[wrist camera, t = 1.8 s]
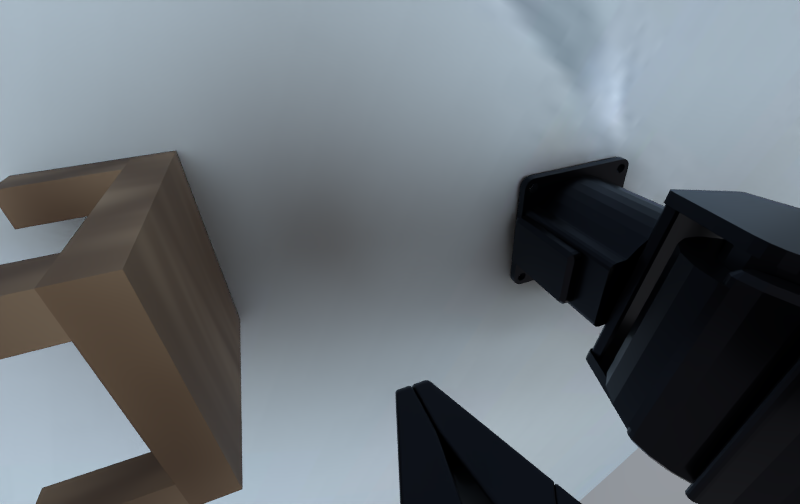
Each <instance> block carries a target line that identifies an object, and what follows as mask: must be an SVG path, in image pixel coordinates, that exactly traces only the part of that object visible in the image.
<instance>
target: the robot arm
mask: <svg viewBox="0 0 800 504" xmlns="http://www.w3.org/2000/svg"><path fill="white" fill-rule="evenodd" d="M628 164H629V163H628V161H627V160H626V159H624V158H621V157H615V158H610V159H606V160H601V161H596V162H592V163H587V164H582V165H578V166H573V167H568V168H564V169H559V170H554V171H550V172H545V173H540V174H536V175H531V176H528V177H526V178H525V179H524V180H523V181H522V183H521V186H520V194H519V203H518V212H517V221H516V227H515V236H514V245H513V254H512V265H511V274H510V276H511V279H512V280H513V281H514V282H515V283H517V284H522V283H525V282H528V281H532V280H535V281H536V282H537V283H538V284H539V285H541V286H542V287H543V288H544V289H545V290H546V291H547V292H549V293H550V294H551V295H552V296H553V297H554V298H555V299H556V300H558V301H559V302H560V303H562V304H564V303H567V302H568V303H569V304H570V305H571V306H572V307H573V308H575V309H576V310H577V311H578V312H579V313H580V314H581V315H583V316H584V317H585V318H586V319H587V320H588V321H590V322H591V323H592V324H593V325H594V326H596V327H597V326H601V325H604V324H605V326H604V328H603V330H602V332H601V334H600V336H599V338H598V340H597V342H596V343H595V345H594V347H593V348H592V349H590V351H589V353H588V355H587V357H586V360H587V362H588V364H589V365H590V367H591V369H592V370H593V372H594V374H595V376H596V377H597V379H598V381H599V382H600V384H601V386H602V387H603V389H604V391H605V392H606V394H607V396H608V398H609V399H610V401H611V403H612V404H613V406H614V408H615V409H616V411H617V413H618V414H619V416H620V418H621V420H622V421H623V423H624V425H625V426H626V428H627V433H628V436H629V437H630V439H631V440H632V441H633V442H634V443H635V444H636V445H637V446H638V447H639V448H640V449H641V450H642V451H644V452H645V453H646V454H647V455H648V456H649V457H650V458H652V459H653V460H655V461H656V462H657V463H658V464H660V465H661V466H663V467H664V468H665V469H667V470H668V471H670V472H671V473H673V474H675V475H677V476H678V477H680V478H682V479H684V480H686V481H687V482H689V483H691V485H690V486H689V487H688V488H687V490H686V491H685V493H686V495H687V497H688V498H689V499H690V500H691V501H693V502H695V503H698V504H800V208H797V207H793V206H790V205H786V204H783V203H779V202H776V201H773V200H769V199H766V198H762V197H759V196H755V195H752V194H749V193H745V192H736V191H707V190H677V189H670V191H669V193H668V195H667V197H666V199H665V201H664V203H665V204H666V205H665V206H663V205H660V204H658V203H656V202H653V201H651V200H649V199H647V198H644V197H642V196H640V195H638V194H635V193H633V192H631V191H629V190H626V189H624V188H623V184H624V181H625V177H626V173H627V169H628ZM532 184H533V186H532V187H531V189H529V188H530V186H531V185H532ZM396 417H397V440H398V462H399V485H400V504H581V503H580V502H579V501H577V500H576V499H575V498H574V497H572V496H571V495H570V494H569V493H567V492H566V491H565V490H564V489H563V488H561V487H560V486H559V485H558V484H555V485H554V482H553V481H552V480H551V479H550V478H549V477H548V476H546V475H545V474H544V473H543V472H541V471H540V470H539V469H538V468H536V467H535V466H534V465H533V464H532V463H530V462H529V461H528V460H527V459H525V458H524V457H523V456H522V455H520V454H519V453H518V452H517V451H515V450H514V449H513V448H512V447H511V446H509V445H508V444H507V443H506V442H504V441H503V440H502V439H501V438H499V437H498V436H497V435H496V434H494V433H493V432H492V431H491V430H490V429H488V428H487V427H486V426H485V425H483V424H482V423H481V422H480V421H478V420H477V419H476V418H475V417H474V416H472V415H471V414H470V413H469V412H467V411H466V410H465V409H464V408H462V407H461V406H460V405H459V404H457V403H456V402H455V401H454V400H453V399H451V398H450V397H449V396H448V395H446V394H445V393H444V392H443V391H441V390H440V389H439V388H438V387H436V386H435V385H434V384H433V383H432V382H430V381H428V380H425V381H422V382H419V383H416V384H414V385H413V386H412V387H411V386H407V387H404V388H401V389H398V390H397V391H396Z"/></svg>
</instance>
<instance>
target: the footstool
mask: <svg viewBox="0 0 800 504" xmlns="http://www.w3.org/2000/svg"><path fill="white" fill-rule="evenodd" d="M0 208H1V209H2V211H3V212H4V214H5V215H6V217H7V218H8V220H9V221H10V223H11V224H12V225H13V227H14V228H15V229H20V228H25V227H30V226H36V225H41V224H47V223H52V222H58V221H63V220H69V219H74V218H80V217H85V216H88V217H87V218H86V219H85V221H84V222H83V223H82V225H81V226H80V227H79V229H78V230H77V232H76V233H75V234H74V236H73V237H72V238H71V240H70V241H69V242H68V244H67V245H66V246H65V248H64V249H63V250H62V252H61V253H57V254H52V255H47V256H42V257H37V258H32V259H27V260H22V261H17V262H12V263H8V264H3V265H0V359H4V358H8V357H11V356H15V355H19V354H23V353H27V352H31V351H35V350H39V349H43V348H47V347H51V346H55V345H59V344H63V343H67V342H71V341H72V342H73V343H74V345H75V346H76V348H77V349H78V350H79V352H80V353H81V355H82V356H83V357H84V359H85V360H86V362H87V363H88V364H89V366H90V367H91V368H92V370H93V371H94V373H95V374H96V375H97V377H98V378H99V380H100V381H101V382H102V384H103V385H104V387H105V388H106V389H107V391H108V392H109V394H110V395H111V396H112V398H113V399H114V400H115V402H116V403H117V405H118V406H119V407H120V409H121V410H122V412H123V413H124V414H125V416H126V417H127V419H128V420H129V421H130V423H131V424H132V425H133V427H134V428H135V430H136V431H137V432H138V434H139V435H140V437H141V438H142V439H143V441H144V442H145V444H146V445H147V446H148V448H149V449H150V451H151V452H149V453H146V454H143V455H140V456H137V457H134V458H131V459H128V460H125V461H122V462H119V463H116V464H113V465H110V466H107V467H104V468H101V469H98V470H95V471H92V472H89V473H86V474H83V475H80V476H77V477H74V478H71V479H68V480H65V481H62V482H59V483H56V484H53V485H50V486H47V487H44V488H42V490H41V492H40V495H39V497H38V499H37V502H36V504H204V503H207V502H209V501H212V500H215V499H217V498H220V497H223V496H225V495H228V494H231V493H233V492H236V491H239V490H241V489H242V421H241V353H240V319H239V316H238V313H237V311H236V308H235V306H234V303H233V300H232V298H231V295H230V292H229V290H228V287H227V284H226V282H225V279H224V277H223V274H222V271H221V269H220V266H219V263H218V261H217V258H216V255H215V253H214V250H213V248H212V245H211V242H210V240H209V237H208V234H207V232H206V229H205V226H204V224H203V221H202V219H201V216H200V213H199V211H198V208H197V205H196V203H195V200H194V197H193V195H192V192H191V189H190V187H189V184H188V182H187V179H186V176H185V174H184V171H183V168H182V166H181V163H180V160H179V158H178V155H177V153H176V151H171V152H164V153H157V154H151V155H144V156H138V157H131V158H125V159H118V160H111V161H105V162H98V163H92V164H85V165H79V166H72V167H65V168H59V169H52V170H46V171H39V172H33V173H26V174H19V175H13V176H9V177H7V178H6V179H5V180H3V181H2V182H0Z"/></svg>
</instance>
